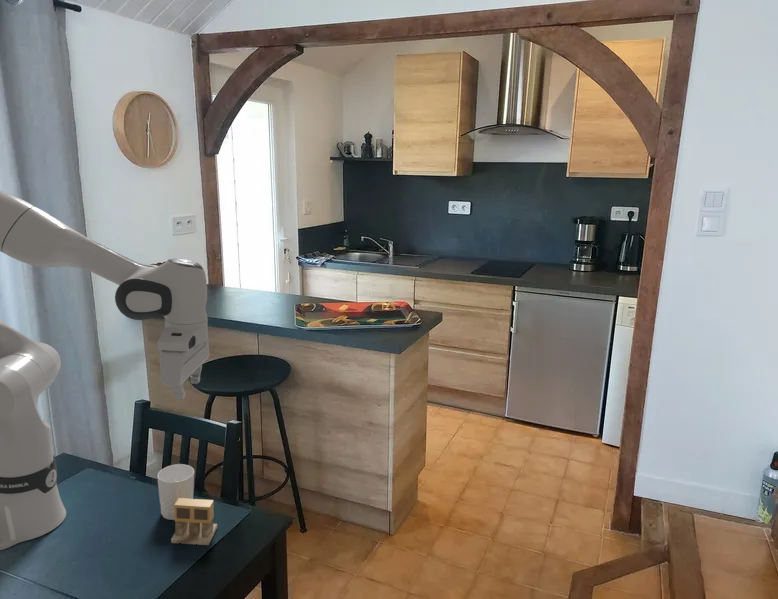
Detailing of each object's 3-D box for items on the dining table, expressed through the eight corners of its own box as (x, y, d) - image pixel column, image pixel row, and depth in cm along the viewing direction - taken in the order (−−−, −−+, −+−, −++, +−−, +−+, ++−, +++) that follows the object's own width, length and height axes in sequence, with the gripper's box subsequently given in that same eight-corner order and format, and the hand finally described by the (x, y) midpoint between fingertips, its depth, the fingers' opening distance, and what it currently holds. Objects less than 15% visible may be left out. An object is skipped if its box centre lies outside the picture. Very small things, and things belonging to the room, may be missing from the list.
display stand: (171, 543, 117) (170, 526, 116) (181, 525, 123) (181, 509, 122) (208, 545, 117) (208, 528, 116) (217, 527, 123) (217, 511, 122)
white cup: (182, 524, 123) (181, 484, 121) (151, 518, 125) (149, 478, 122) (201, 504, 131) (200, 467, 129) (171, 499, 132) (170, 461, 130)
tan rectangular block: (174, 521, 118) (174, 505, 117) (179, 514, 120) (178, 497, 119) (209, 523, 118) (209, 507, 117) (213, 516, 120) (213, 500, 119)
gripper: (189, 319, 131) (190, 373, 134) (153, 344, 111) (155, 407, 114) (215, 320, 131) (216, 374, 134) (184, 346, 111) (185, 409, 114)
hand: (188, 390), depth 124 cm, fingers open, 8 cm apart
